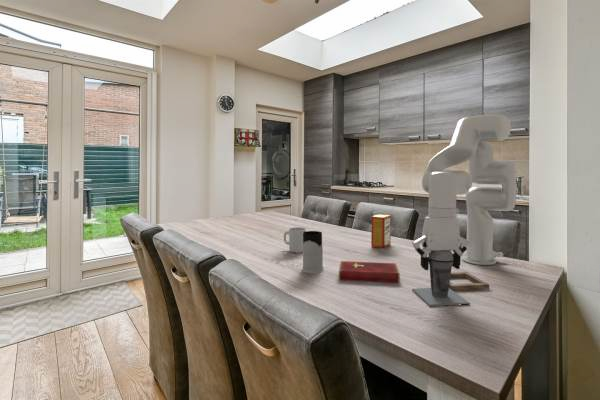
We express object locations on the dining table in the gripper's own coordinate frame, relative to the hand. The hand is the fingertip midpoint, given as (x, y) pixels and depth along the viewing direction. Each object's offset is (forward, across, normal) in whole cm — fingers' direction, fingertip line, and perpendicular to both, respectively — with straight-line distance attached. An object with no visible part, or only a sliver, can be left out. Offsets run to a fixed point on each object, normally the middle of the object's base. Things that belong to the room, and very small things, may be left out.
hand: (440, 268), depth 94 cm
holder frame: (+9, -13, -11) cm, 19 cm away
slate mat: (+9, 0, 0) cm, 9 cm away
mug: (+9, +42, -61) cm, 75 cm away
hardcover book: (+10, +16, -21) cm, 28 cm away
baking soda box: (+10, -3, -65) cm, 66 cm away
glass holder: (+9, +35, -33) cm, 49 cm away
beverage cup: (+9, 0, 0) cm, 9 cm away
